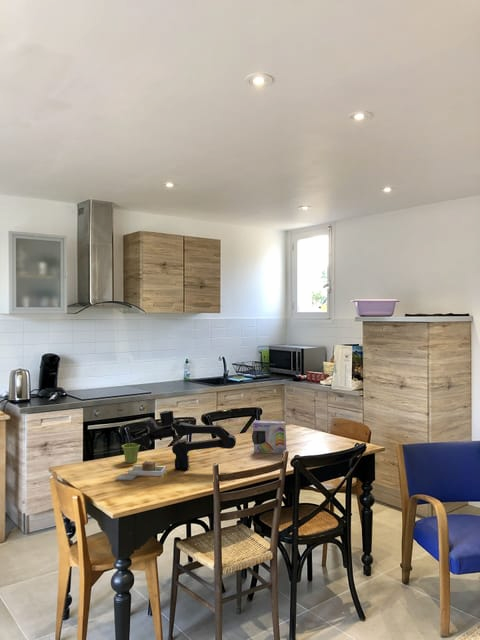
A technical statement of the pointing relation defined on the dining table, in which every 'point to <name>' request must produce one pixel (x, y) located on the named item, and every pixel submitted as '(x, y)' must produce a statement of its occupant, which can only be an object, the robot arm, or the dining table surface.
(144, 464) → the walnut block
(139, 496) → the dining table surface
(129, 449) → the plant pot
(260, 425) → the cake pan box
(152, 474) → the channel
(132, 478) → the slate coaster
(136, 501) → the dining table surface
